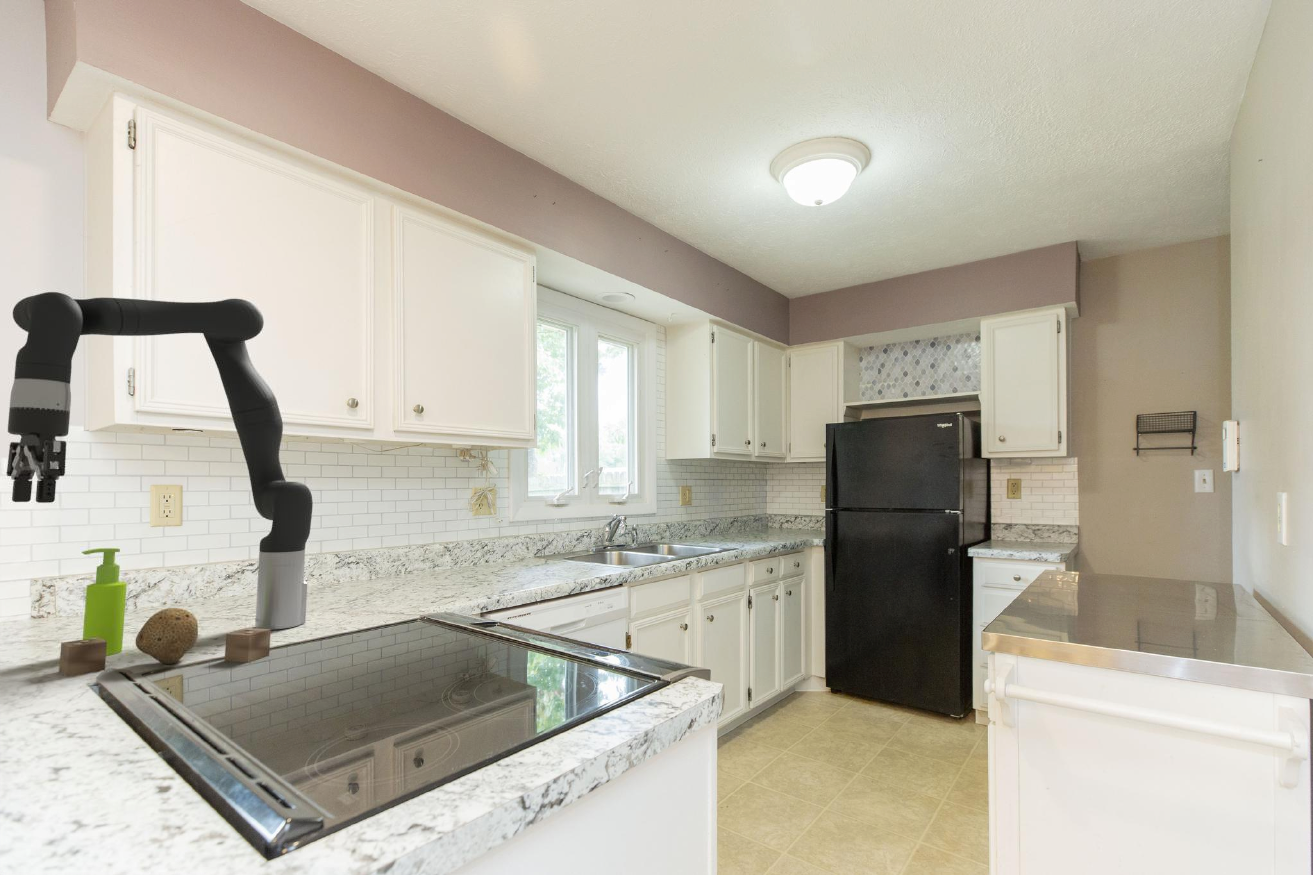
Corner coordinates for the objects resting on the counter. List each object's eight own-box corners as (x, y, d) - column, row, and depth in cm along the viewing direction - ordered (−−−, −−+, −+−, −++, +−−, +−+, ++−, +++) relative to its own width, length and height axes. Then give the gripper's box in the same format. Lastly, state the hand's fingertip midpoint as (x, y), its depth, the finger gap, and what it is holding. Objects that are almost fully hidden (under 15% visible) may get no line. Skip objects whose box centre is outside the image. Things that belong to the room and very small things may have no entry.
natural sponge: (123, 672, 110) (127, 613, 110) (149, 659, 118) (152, 604, 119) (184, 668, 112) (187, 611, 113) (205, 655, 121) (208, 602, 121)
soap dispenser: (70, 654, 121) (79, 548, 122) (117, 647, 126) (124, 546, 128) (77, 660, 117) (86, 550, 119) (125, 652, 122) (133, 548, 124)
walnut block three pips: (96, 665, 114) (98, 636, 114) (104, 670, 111) (107, 640, 111) (58, 672, 110) (61, 641, 110) (66, 677, 107) (69, 646, 107)
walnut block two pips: (246, 654, 122) (248, 627, 123) (269, 656, 121) (270, 628, 122) (224, 661, 117) (226, 632, 118) (247, 663, 116) (249, 634, 117)
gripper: (88, 408, 110) (81, 502, 108) (48, 412, 116) (41, 501, 115) (31, 403, 103) (23, 503, 102) (-8, 407, 109) (-17, 502, 108)
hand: (32, 502), depth 108 cm, fingers open, 8 cm apart
